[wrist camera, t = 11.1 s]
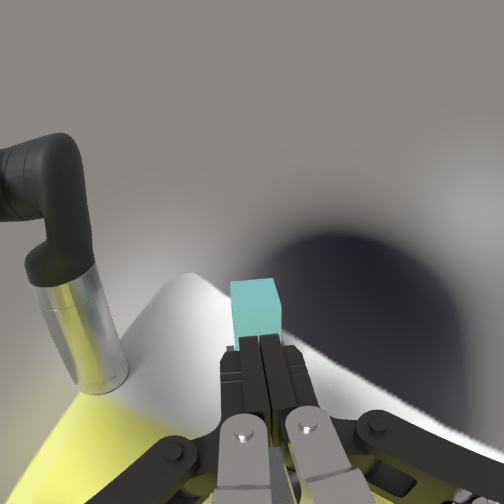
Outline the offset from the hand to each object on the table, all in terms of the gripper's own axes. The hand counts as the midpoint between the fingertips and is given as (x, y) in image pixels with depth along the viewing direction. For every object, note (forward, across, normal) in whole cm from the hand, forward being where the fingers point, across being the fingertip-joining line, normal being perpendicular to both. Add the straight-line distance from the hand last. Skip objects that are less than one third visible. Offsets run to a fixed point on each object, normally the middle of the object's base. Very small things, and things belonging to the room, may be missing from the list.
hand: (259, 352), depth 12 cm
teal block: (+20, +1, -22) cm, 30 cm away
